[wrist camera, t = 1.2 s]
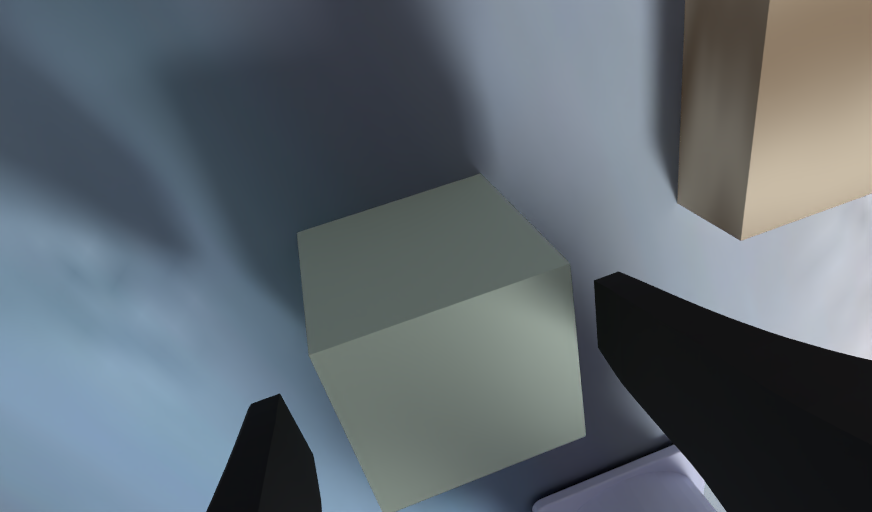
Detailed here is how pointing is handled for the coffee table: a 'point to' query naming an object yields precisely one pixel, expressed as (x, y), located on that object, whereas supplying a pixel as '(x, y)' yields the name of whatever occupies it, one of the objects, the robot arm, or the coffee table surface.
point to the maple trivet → (774, 110)
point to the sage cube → (442, 338)
